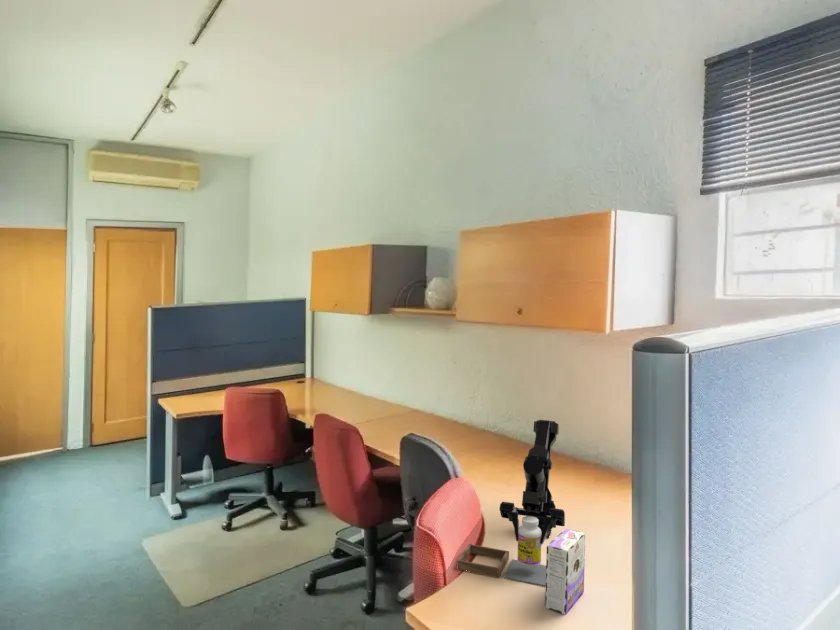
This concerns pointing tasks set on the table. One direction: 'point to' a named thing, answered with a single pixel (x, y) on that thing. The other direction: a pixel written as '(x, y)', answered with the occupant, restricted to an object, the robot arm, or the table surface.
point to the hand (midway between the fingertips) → (529, 542)
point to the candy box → (565, 571)
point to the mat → (526, 573)
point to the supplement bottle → (529, 542)
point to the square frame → (481, 568)
